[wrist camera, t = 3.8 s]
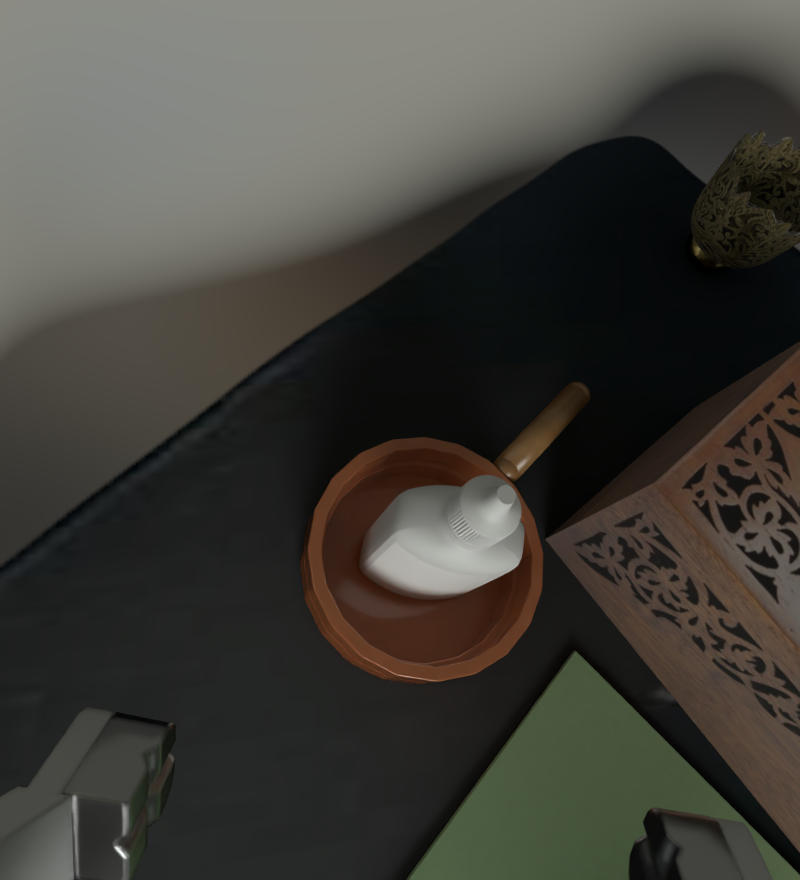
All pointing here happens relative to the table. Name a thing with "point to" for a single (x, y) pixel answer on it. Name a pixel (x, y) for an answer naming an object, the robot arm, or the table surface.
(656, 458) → the tissue box cover
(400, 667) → the pan
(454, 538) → the eye dropper bottle
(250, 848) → the table surface
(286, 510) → the table surface
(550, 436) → the pan handle
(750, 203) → the cup
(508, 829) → the napkin
